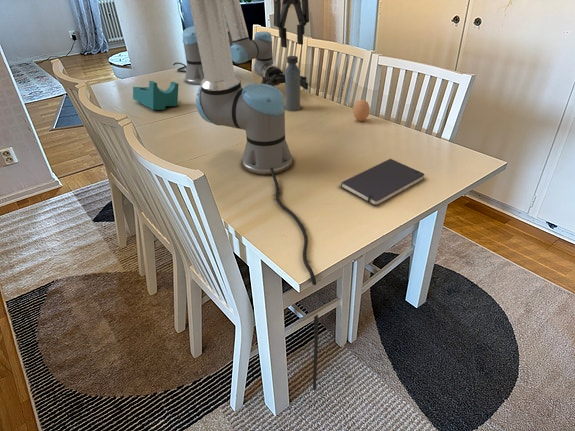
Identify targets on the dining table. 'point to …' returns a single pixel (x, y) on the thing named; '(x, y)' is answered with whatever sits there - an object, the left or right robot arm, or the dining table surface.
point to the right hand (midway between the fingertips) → (292, 45)
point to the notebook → (382, 181)
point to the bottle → (292, 87)
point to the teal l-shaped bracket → (156, 96)
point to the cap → (292, 59)
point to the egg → (361, 110)
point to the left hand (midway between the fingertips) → (291, 88)
